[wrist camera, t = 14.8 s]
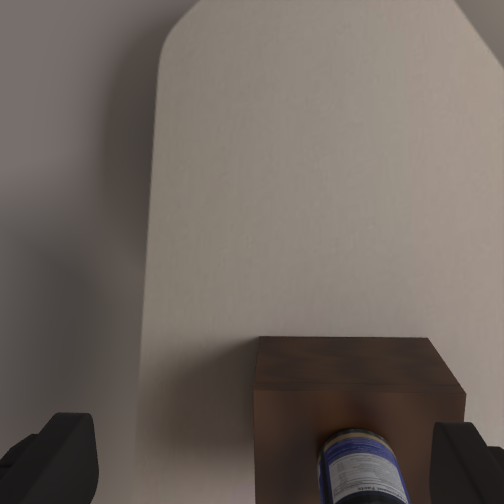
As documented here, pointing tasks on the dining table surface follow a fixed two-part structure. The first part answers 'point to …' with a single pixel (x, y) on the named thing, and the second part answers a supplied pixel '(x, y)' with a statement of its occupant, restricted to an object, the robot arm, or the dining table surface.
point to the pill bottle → (359, 470)
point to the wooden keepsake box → (346, 407)
